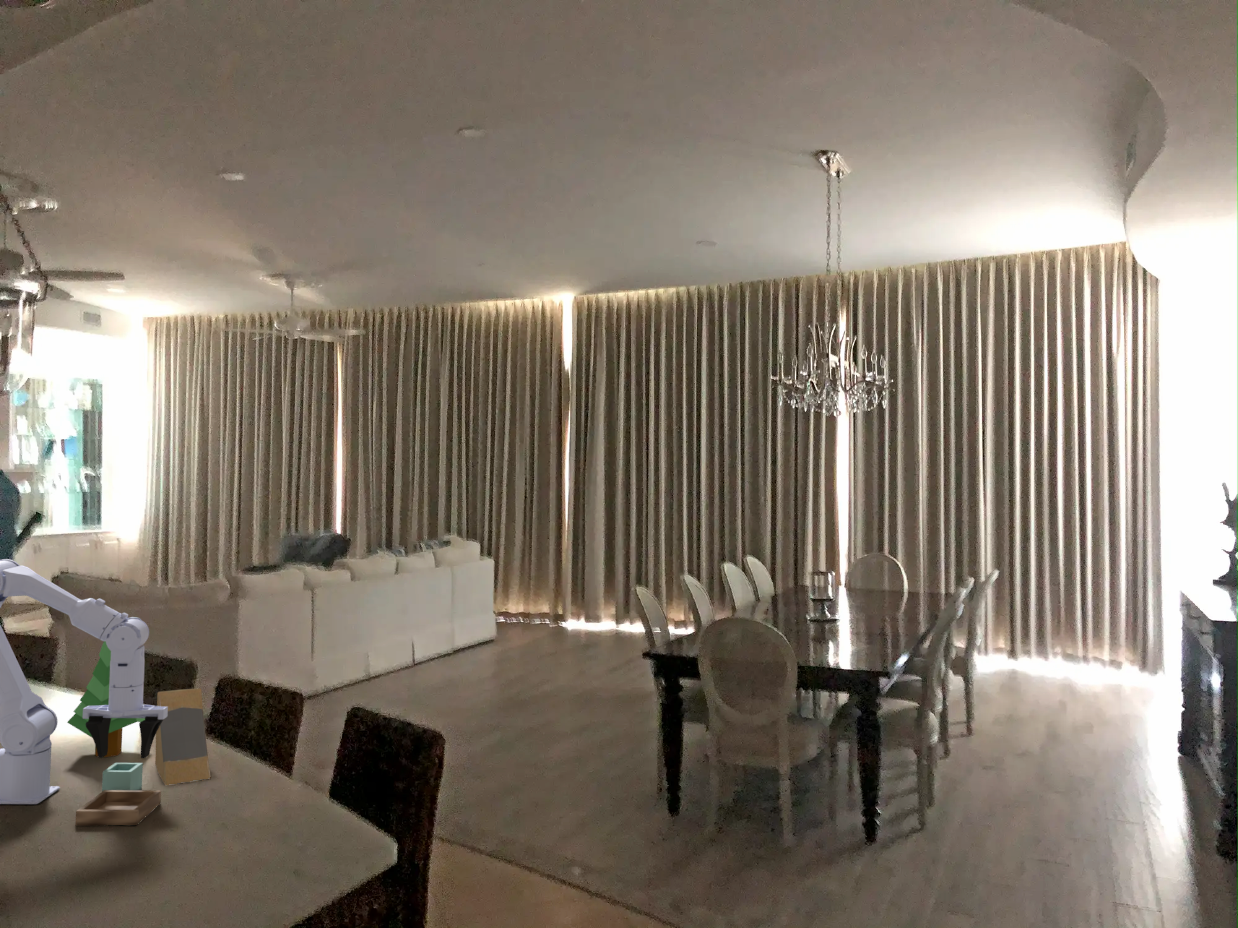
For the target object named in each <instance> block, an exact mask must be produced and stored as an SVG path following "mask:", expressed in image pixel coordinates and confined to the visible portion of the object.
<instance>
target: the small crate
mask: <svg viewBox="0 0 1238 928" xmlns="http://www.w3.org/2000/svg"><path fill="white" fill-rule="evenodd" d="M143 765H144V763H143V762H114V763H112V765H110V766H108V768H106V769H104V770H103V771H102V779H101V780H102V782H101V792H102V791H104V790H143V788H142V787H143V769H144V768H143V767H144V766H143Z"/></svg>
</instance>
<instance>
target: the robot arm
mask: <svg viewBox="0 0 1238 928" xmlns="http://www.w3.org/2000/svg"><path fill="white" fill-rule="evenodd" d="M25 596H26V597H29V598H31V599H33V600H34V601H35V600H36V602H39V603H41V604H43V605H46V606H48V607H51V608H52V609H55V610H56V611H59V612H61V613H63V614H65V615H68V617H69V619H70V623H71V625H72V626H73V627H76V628H77V629H79V630H81V631H83V632H85V633H86V634H88V635H90V636H92V637H94V638H95V639H98V640H100V641H101V642H104V641H106V644H107V647H108V648H109V649H110V651H111V661H110V682H109V705H99V706H87V707H85V708H83V719H89V720H88V722H86V728H87V729H88V731H89V732H90V734H91V736H92V737H91V738H92V740H93V742H94V747H95V746H96V749H97V753H98V756H97V757H98V758H99V759H103V757H104V756H106V755H107V752H108V734H109V727H110V722H111V718H145V720H143V721H142V722H138V723H139V724H138V725H139V731H140V759H146V758H147V757H148V756H150V754H151V753H150V752H151V749H152V745H153V742H154V739H155V738H156V732H157V730H158V728H159V726H160V725H161V723H162V721H163V719H164V718H166V717H167V715H168V707H163V706H157V705H152V704H145V703H144V683H145V662H146V661H145V660H146V659H145V645H144V644H145V643H146V642H147V640H148V639H149V636H150V629H149V626H148V625H147V623H146V622H145V621H144V620H142V619H141V618H140V617H136V616H131V617H129V614H128V613H127V612H122V613H121V612H119V611H117V610H115V609H113V608H111V607H109V606H108V605H106V600H104V599H102V598H97V599H95V598H93V597H89V598H85V599H81V598H78V597H77V596H75V595H74V594H72V593H70V592H69V591H67V590H65V589H64V588H61V587H60V586H59V585H57V584H55V583H53V582H52V581H50V580H48V579H47V578H45V577H43V576H42V575H40V574H39V573H37V572H36V571H34V570H33V569H32V568H30V567H28V566H26V565H20V564H19V563H18V562H17V561H15V560H12V559H8V558H3V559H0V609H1V608H2V606H3V605H4V603H5V601H6V599H8V598H9V597H25ZM16 657H17V656H16V655H15V653H14V651H13V649H12V647H11V644H10V642H9V640H8V638H7V636H6V633H5V632H4V630H3V627H2V625H1V624H0V744H1V745H0V746H1V747H2V748H0V805H38V804H40V803H41V802H43V801H44V800H46V799H47V798H49V797H50V796H51V795H53V794H54V793H56V792H58V791H59V790H60V788H61V787H60V786H58V785H55V786H53V785H51V769H52V768H51V767H52V766H51V764H52V762H51V761H52V740H51V735H53V733H54V732H55V731H56V729H57V727H58V721H59V720H58V716H57V714H56V713H55V711H54V710H53V709H51V708H50V707H48V706H47V705H46V704H45V702H44V700H43V698H42V697H41V696H40V695H38V694H37V693H34V692H33V691H32V689H31V687H30V685H29V683H28V680H27V678H26V676H25V674H24V672H23V671H22V668H21V666H20V664H19V662H18V660H17V658H16ZM104 758H105V757H104Z"/></svg>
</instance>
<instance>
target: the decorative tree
mask: <svg viewBox="0 0 1238 928" xmlns="http://www.w3.org/2000/svg"><path fill="white" fill-rule="evenodd" d="M98 656H99V660H97V664H96V666H95V667H94V670H93V672H92V676H91V677H92V678H91V679H90V681H88V684H87V685H86V687H85V688H86V689H87V690H86V691H85V692H84V693H83V694H82V696H81V698H80V699H79V701H80V703H79V704H78V705H77V707H76V708H75V709H74V710H73V713H74V714H73V716H71V718H69V720H67V722H66V723H67V724H68V725H71V726H72V727H74V728H75V729H77V730H78V731H80V732H82V733H83V734H86V735H87V736H88V737H91V738H92V736H91V734H90V732H89V731H88V729H87V728H86V722H88V720H89V719H83V708H85V707H87V706H99V705H109V682H110V661H111V651H110V649H109V648H108V647H107V644H106V641H102V644H101V648H100V651H99V654H98ZM143 720H145V718H111V722H110V727H109V734H108V752H107V755H106V756H104V757H103V758H110V757H115V756H118V755H120V754H121V753H122V746H123V745H122V743H123V728H125V727H127V726H131V725H132V724H136V723H140V722H142V721H143ZM94 756H95V757H98V753H97V749H96V746H95V745H94ZM103 758H102V759H103Z"/></svg>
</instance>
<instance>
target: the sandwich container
mask: <svg viewBox="0 0 1238 928" xmlns="http://www.w3.org/2000/svg"><path fill="white" fill-rule="evenodd" d="M202 693H203V691H202V688H200V687H199V688H187V689H186V688H185V689H175V690H163V691H158V692H157V693H156V694H157V699H156V706H163V707H168V715H167V717H166V718H164V719H163V721H162V723H161V725H160V726H159V728H158V730H157V732H156V735H155V757H154V758H155V761H154V762H155V767H156V769H157V772H158V775H159V776H160V778H161V780H162V783H164V786H165V785H169V784H176V785H178V784H177V783H181V782H190V781H193V780H200V779H208V778H210V777H211V771H210V762H209V761H210V760H209V754H208V753H209V752H208V745H207V737H206V727H205V726H206V725H205V717H204V705H203V695H202ZM190 783H191V782H190ZM169 786H170V785H169Z"/></svg>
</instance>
